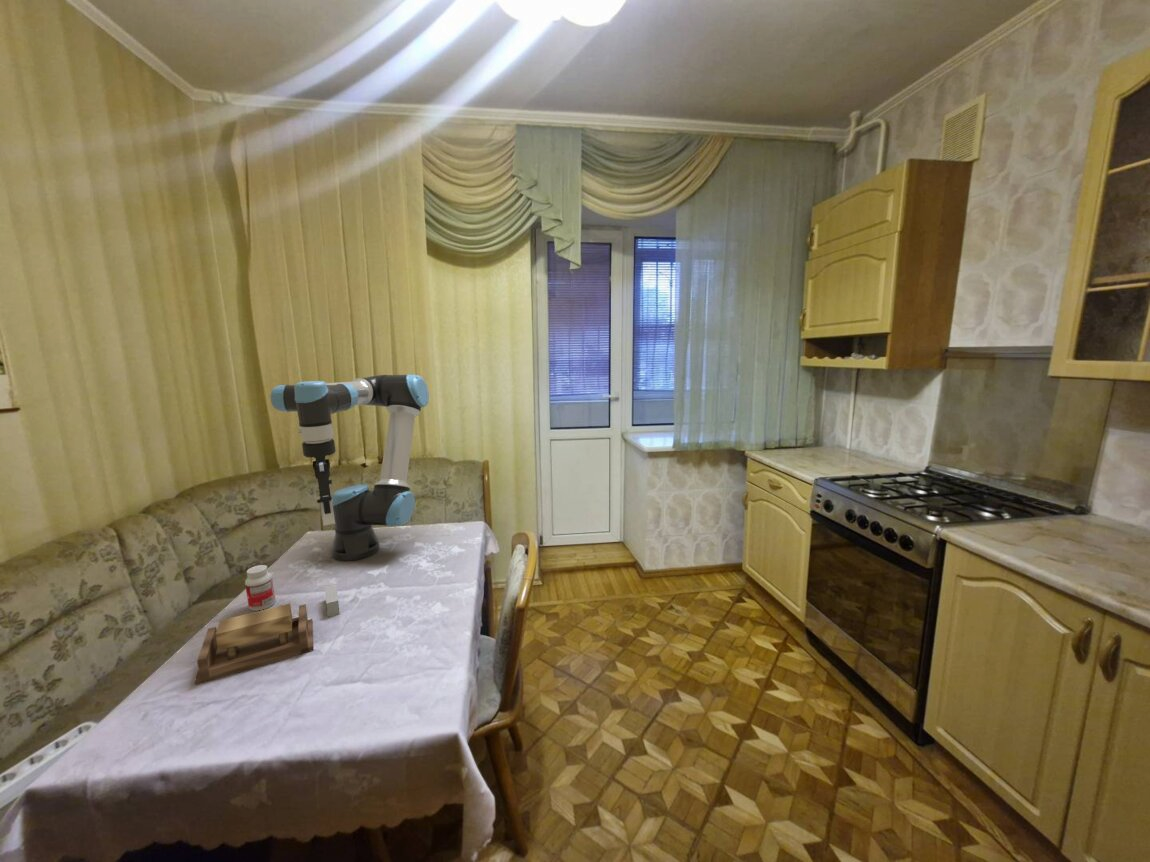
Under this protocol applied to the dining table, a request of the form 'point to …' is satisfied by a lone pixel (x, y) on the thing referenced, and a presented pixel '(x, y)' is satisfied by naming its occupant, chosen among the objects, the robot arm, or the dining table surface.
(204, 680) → the peg frame
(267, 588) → the pill bottle
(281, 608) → the plank
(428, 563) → the dining table surface
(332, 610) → the stand
